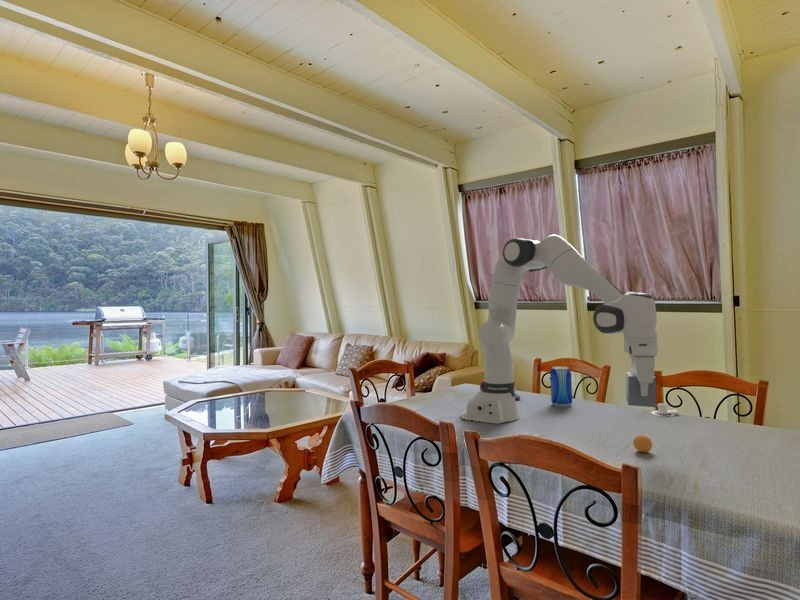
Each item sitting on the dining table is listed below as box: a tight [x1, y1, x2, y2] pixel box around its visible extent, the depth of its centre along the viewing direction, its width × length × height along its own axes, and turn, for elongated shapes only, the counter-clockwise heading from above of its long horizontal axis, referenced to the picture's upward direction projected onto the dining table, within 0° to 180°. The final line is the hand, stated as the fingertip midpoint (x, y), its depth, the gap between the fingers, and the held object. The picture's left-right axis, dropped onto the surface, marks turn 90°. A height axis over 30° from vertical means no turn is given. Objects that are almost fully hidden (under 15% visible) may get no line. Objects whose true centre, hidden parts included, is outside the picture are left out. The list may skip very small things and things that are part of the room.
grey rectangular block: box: [625, 371, 657, 408], centre depth 137 cm, size 7×7×9 cm
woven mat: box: [515, 392, 521, 401], centre depth 211 cm, size 10×11×2 cm
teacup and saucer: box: [650, 402, 679, 418], centre depth 175 cm, size 9×8×4 cm
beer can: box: [549, 365, 573, 408], centre depth 195 cm, size 8×8×16 cm
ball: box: [633, 434, 653, 453], centre depth 138 cm, size 5×5×5 cm
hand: (642, 392), depth 137 cm, fingers closed on grey rectangular block, 7 cm apart
